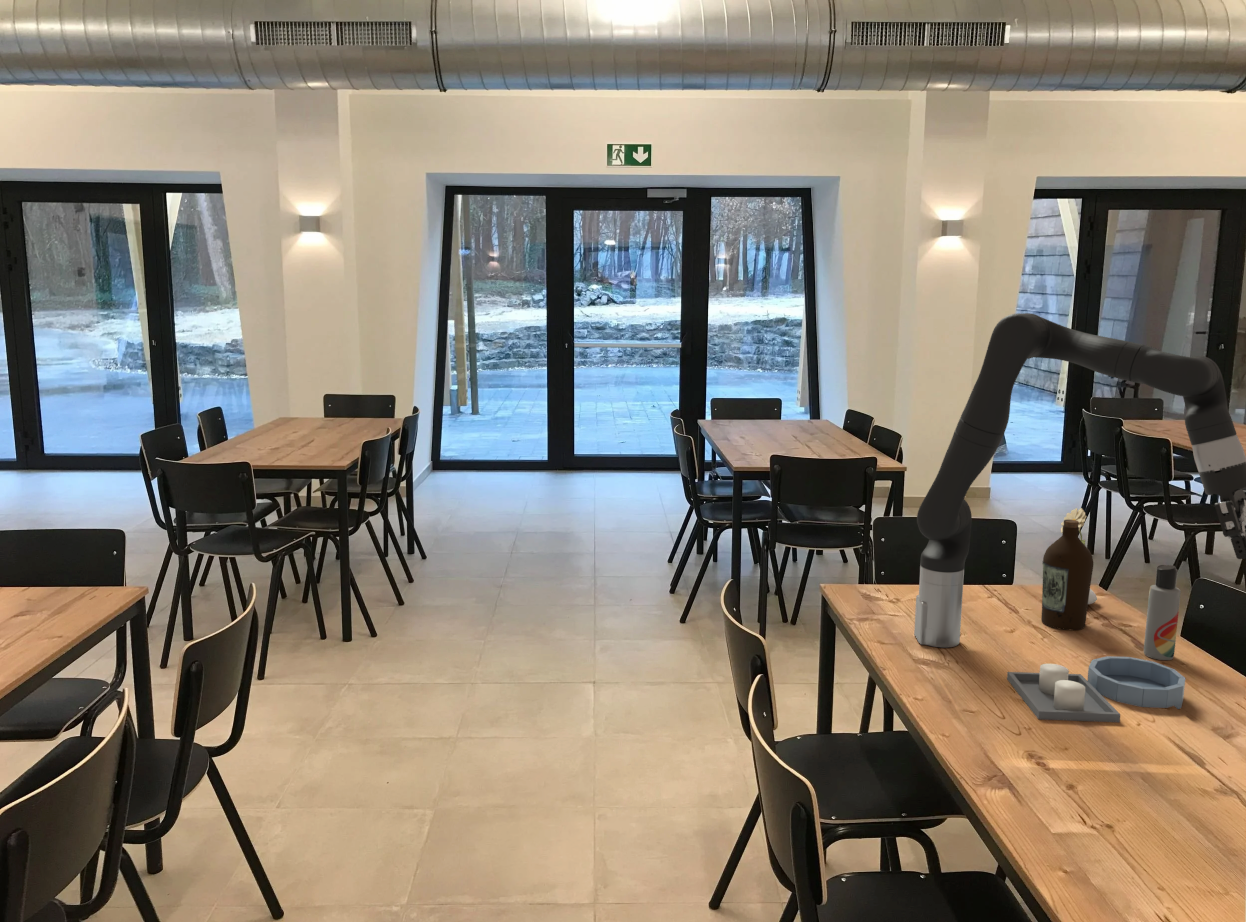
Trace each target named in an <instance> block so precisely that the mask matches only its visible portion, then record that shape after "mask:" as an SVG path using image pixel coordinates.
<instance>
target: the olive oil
mask: <svg viewBox="0 0 1246 922" xmlns="http://www.w3.org/2000/svg"><path fill="white" fill-rule="evenodd" d="M1063 521H1064V526H1062V527H1063V532H1062V533H1061V534H1062V535H1061V536H1059V537H1058V539H1056V540H1055V541H1054V542H1052V543H1051V544H1050V545H1049V546H1048V547H1047V548H1046V550H1045V552H1044V554H1043V558H1042V590H1041V591H1042V594H1041V617H1040V618H1041V622H1042V624H1044V625H1045V626H1048V627H1051V628H1053V629H1058V630H1063V631H1064V630H1065V631H1079V630H1082V629H1084V628H1086V623H1087V614H1088V606H1089V604H1088V599H1089V592H1090V589H1091V584H1092V577H1093V570H1094V558H1093V554H1092V553H1091V551H1090V549H1089V548H1088V546H1086V544H1085V545H1084V544H1083V543H1082V541H1081V538H1079V527H1078V525H1079V521H1077V520H1070V519H1067V520H1064V519H1063Z"/></svg>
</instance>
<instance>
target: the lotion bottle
mask: <svg viewBox="0 0 1246 922" xmlns="http://www.w3.org/2000/svg"><path fill="white" fill-rule="evenodd" d="M1177 579H1178V569H1177V566H1175V565H1171V564H1160V565H1158V566H1156V572H1155V582H1154V584H1151V585H1150V586H1149V589H1148V590H1149V593H1148V599H1147V600H1148V601H1147V602H1148V603H1147V611H1146V612H1147V613H1146V620H1145V621H1146V622H1145V630H1144V631H1145V632H1144V644H1143V654H1144V655H1145V656H1146V657H1148V658H1151V659H1154V660H1159V661H1172V660H1173V659H1174V657H1175V651H1176V642H1177V631H1178V623H1179V622H1178V621H1179V613H1180V611H1179V610H1180V603H1181V593H1182V592H1181V589H1179V588H1178V587H1177Z"/></svg>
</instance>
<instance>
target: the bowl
mask: <svg viewBox="0 0 1246 922" xmlns="http://www.w3.org/2000/svg"><path fill="white" fill-rule="evenodd" d="M1086 680H1087V681H1088V682H1089V683H1090V684H1091V685H1092V686H1093V687H1094V688H1095V689H1096V690H1097V691H1098V692H1099V693H1100V694H1101V695H1102V696H1103V697H1104V698H1108V699H1110V700H1112V701H1115V702H1118V703H1122V704H1125V705H1130V706H1131V705H1132V706H1136V707H1140V708H1156V709H1157V708H1159V709H1161V708H1162V709H1163V708H1164V709H1168V708H1171V707H1175V708H1176V709H1177V710H1180V708H1181V709H1182V706H1183V702H1184V696H1185V685H1186V677H1185V676H1184V675H1182V674H1181V673H1180V672H1179V671H1177V670H1176V669H1175V668H1172V667H1169V666H1167V665H1165V664H1161V663H1159V662H1156V661H1153V660H1146V659H1142V658H1136V657H1131V656H1110V655H1107V656H1103V657H1098V658H1094V659H1092V660H1091V661H1090V664H1089V665H1088V671H1087V679H1086Z"/></svg>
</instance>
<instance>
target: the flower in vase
mask: <svg viewBox="0 0 1246 922" xmlns="http://www.w3.org/2000/svg"><path fill="white" fill-rule="evenodd" d="M1086 518H1087V515H1086V512H1085V510H1084V509H1083V508H1082V507H1081V508H1080V509H1078V508H1077V507H1076V508H1074V509H1072V510H1071V511H1070V512H1067V513H1066V516H1064V517H1063V521H1062V522H1061V523H1060V526H1061V527H1060V534H1062V532H1063V526H1064V520H1067V519H1070V520H1077V521H1079V525H1078V527H1079V532H1078V534H1079V537H1080V540H1081V541H1082V543H1083V544H1084V545H1085V546H1086V539H1083V534H1082V531H1081V528H1083V527H1084V525H1085V522H1086ZM1097 600H1098V596H1097V594H1096V593H1095V591H1093V590H1092V588H1090V592H1089V599H1088V605H1091V604H1094V603H1095V602H1096V601H1097Z"/></svg>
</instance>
